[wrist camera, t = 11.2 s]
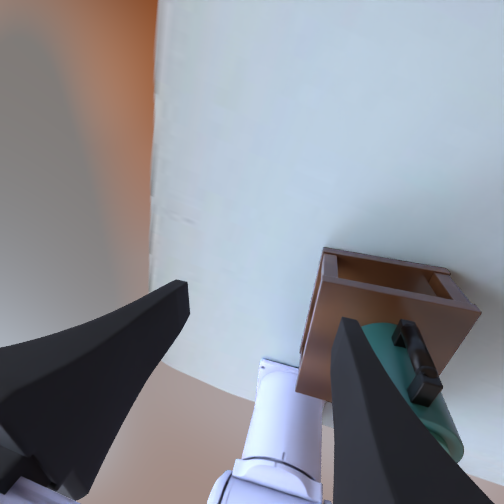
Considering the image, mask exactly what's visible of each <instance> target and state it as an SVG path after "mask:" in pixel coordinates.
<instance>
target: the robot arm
mask: <svg viewBox="0 0 504 504" xmlns="http://www.w3.org/2000/svg"><path fill="white" fill-rule="evenodd" d="M189 315H190V308H189V295H188V283H187V282H185V281H181V280H174V281H172V282H170V283H168V284H166V285H164V286H162V287H160V288H159V289H157V290H155V291H153V292H151V293H149V294H147V295H145V296H144V297H142V298H140V299H138V300H136V301H134V302H132V303H130V304H128V305H126V306H124V307H122V308H119V309H118V310H115V311H113V312H111V313H109V314H106V315H104V316H102V317H100V318H97V319H94V320H92V321H89V322H87V323H84V324H82V325H78V326H75V327H73V328H70V329H67V330H64V331H61V332H58V333H55V334H52V335H48V336H45V337H41V338H38V339H34V340H30V341H27V342H23V343H19V344H15V345H11V346H6V347H1V348H0V504H80V503H78V502H76V500H79V499H81V498H83V497H84V496H85V495H87V494H88V493H89V490H90V489H91V486H92V484H93V482H94V480H95V478H96V476H97V474H98V472H99V469H100V467H101V465H102V463H103V461H104V459H105V457H106V455H107V453H108V451H109V448H110V447H111V445H112V443H113V441H114V439H115V437H116V435H117V433H118V431H119V429H120V427H121V425H122V424H123V422H124V420H125V418H126V416H127V414H128V413H129V411H130V409H131V407H132V405H133V403H134V402H135V400H136V398H137V396H138V394H139V393H140V391H141V389H142V388H143V386H144V384H145V383H146V381H147V379H148V378H149V376H150V375H151V373H152V372H153V370H154V369H155V368H156V366H157V365H158V363H159V362H160V361H161V359H162V358H163V356H164V355H165V354H166V352H167V351H168V349H169V348H170V347H171V345H172V344H173V342H174V341H175V339H176V338H177V336H178V335H179V334H180V332H181V330H182V328H183V327H184V325H185V323H186V321H187V319H188V317H189ZM298 372H299V369H298V368H294V367H291V366H287V365H283V364H280V363H276V362H273V361H269V360H265V359H262V360H261V361H260V364H259V373H258V381H257V390H256V398H255V407H254V411H253V415H252V419H251V423H250V427H249V431H248V435H247V439H246V443H245V447H244V451H243V454H242V458H241V460H240V459H236V461H235V464H234V468H233V471H231V470H226V471H225V472H224V473H223V475H221V476H220V477H219V478H218V479H217V481H216V483H215V484H214V486H213V488H212V491H211V493H210V496H209V499H208V502H207V504H322V495H323V494H322V493H323V485H322V483H321V441H322V410H323V407H324V405H325V402H326V401H325V400H321V399H318V398H314V397H311V396H308V395H304V394H301V393H297V392H295V387H296V381H297V377H298ZM330 377H331V392H332V406H333V421H334V441H335V445H334V489H333V504H494V503H493V502H492V501H491V500H490V499H489V498H488V497H487V496H486V494H484V492H483V491H482V490H481V489H480V488H479V487H478V486H477V485H476V484H475V483H474V482H473V481H472V480H471V479H470V477H469V476H468V475H467V474H466V473H465V472H464V471H463V470H462V469H461V468H460V466H459V465H458V464H457V463H456V462H455V461H454V460H453V459H452V457H451V456H450V455H449V454H448V453H447V452H446V450H445V449H444V448H443V447H442V446H441V445H440V443H439V442H438V441H437V440H436V439H435V438H434V436H433V435H432V434H431V433H430V432H429V430H428V429H427V428H426V427H425V425H424V424H423V423H422V422H421V420H420V419H419V418H418V416H417V415H416V414H415V413H414V411H413V410H412V409H411V407H410V406H409V405H408V403H407V402H406V400H405V399H404V398H403V396H402V395H401V393H400V392H399V390H398V389H397V387H396V386H395V384H394V383H393V381H392V380H391V378H390V377H389V375H388V374H387V372H386V370H385V369H384V367H383V365H382V364H381V362H380V360H379V359H378V357H377V355H376V354H375V352H374V350H373V348H372V347H371V345H370V343H369V341H368V339H367V337H366V336H365V334H364V332H363V330H362V328H361V326H360V324H359V322H358V321H357V320H355V319H351V318H346V317H342V318H341V321H340V324H339V327H338V330H337V333H336V336H335V340H334V343H333V346H332V349H331V366H330ZM50 489H51V490H50ZM52 490H53V491H52ZM54 491H55V492H54ZM56 492H57V493H56ZM63 495H64V496H63ZM65 496H66V497H65ZM67 497H68V498H67ZM69 498H70V499H69ZM323 504H332V503H331V501H329V500H324V503H323Z"/></svg>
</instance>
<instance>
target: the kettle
mask: <svg viewBox="0 0 504 504" xmlns="http://www.w3.org/2000/svg"><path fill="white" fill-rule="evenodd" d="M361 328H362V330H363V332H364V334H365V336H366V337H367V339H368V341H369V343H370V345H371V347H372V348H373V350H374V352H375V354H376V355H377V357H378V359H379V360H380V362H381V364H382V365H383V367H384V369H385V370H386V372H387V374H388V375H389V377H390V378H391V380H392V381H393V383H394V384H395V386H396V387H397V389H398V390H399V392H400V393H401V395H402V396H403V398H404V399H405V400H406V402H407V403H408V405H409V406H410V407H411V409H412V410H413V411H414V413H415V414H416V415H417V416H418V418H419V419H420V420H421V422H422V423H423V424H424V425H425V427H426V428H427V429H428V430H429V432H430V433H431V434H432V435H433V436H434V438H435V439H436V440H437V441H438V442H439V443H440V445H441V446H442V447H443V448H444V449H445V450H446V452H447V453H448V454H449V455H450V456H451V457H452V459H453V460H454V461H455V462H456V463H458V462H459V461H460V460H461V459H462V457H463V454H464V446H463V443H462V441H461V439H460V436H459V434H458V431H457V429H456V427H455V424H454V422H453V420H452V417H451V415H450V412H449V410H448V408H447V405H446V403H445V400H444V398H443V396H442V393H441V390H442V389H443V385H442V383H441V381H440V378H439V376H438V371H437V369H436V367H435V365H434V362H433V360H432V358H431V356H430V353H429V351H428V349H427V346H426V344H425V342H424V340H423V337H422V335H421V333H420V331H419V329H418V327H417V325H416V323H415V322H414V321H409V320H404V319H400V321H399V323H398V325H396V324H391V323H372V324H368V325H365V326H362V327H361Z"/></svg>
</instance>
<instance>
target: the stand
mask: <svg viewBox="0 0 504 504" xmlns="http://www.w3.org/2000/svg"><path fill="white" fill-rule="evenodd" d="M450 275H451V273H450V272H449V271H448V270H447V269H446V268H441V267H435V266H430V265H424V264H418V263H412V262H406V261H400V260H395V259H389V258H383V257H377V256H371V255H365V254H360V253H354V252H348V251H342V250H336V249H330V248H325V247H323V250H322V255H321V259H320V263H319V268H318V272H317V276H316V281H315V285H314V290H313V294H312V298H311V303H310V307H309V311H308V316H307V320H306V325H305V329H304V333H303V338H302V342H301V346H300V354H301V355H300V363H299V372H298V377H297V381H296V387H295V392H297V393H301V394H304V395H308V396H311V397H314V398H318V399H321V400H325V401H328V402H331V403H332V392H331V377H330V366H331V349H332V346H333V343H334V340H335V336H336V333H337V330H338V327H339V324H340V321H341V318H342V317H346V318H351V319H355V320H357V321H358V322H359V324H360V326H361V327H362V326H365V325H368V324H372V323H391V324H396V325H398V323H399V321H400V319H404V320H409V321H414V322H415V323H416V325H417V327H418V329H419V331H420V333H421V335H422V337H423V340H424V342H425V344H426V346H427V349H428V351H429V353H430V356H431V358H432V360H433V362H434V365H435V367H436V369H437V371H438V376H439V375H440V374H441V372H442V371H443V369H444V368H445V366H446V365H447V363H448V362H449V360H450V359H451V358H452V356H453V355H454V353H455V352H456V350H457V349H458V347H459V346H460V344H461V343H462V341H463V340H464V339H465V337H466V336H467V334H468V333H469V331H470V330H471V328H472V327H473V325H474V324H475V322H476V321H477V319H478V318H479V317H480V315H481V314H482V312H481V311H480V310H479V308H478V307H477V306H476V305H475V304H471V302H470V301H469V300H468V299H467V297H466V296H465V295H464V294H463V292H462V291H461V290H460V288H459V287H458V286H457V285H456V283H455V282H454V281H453V280H452V278H451V277H450Z"/></svg>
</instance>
